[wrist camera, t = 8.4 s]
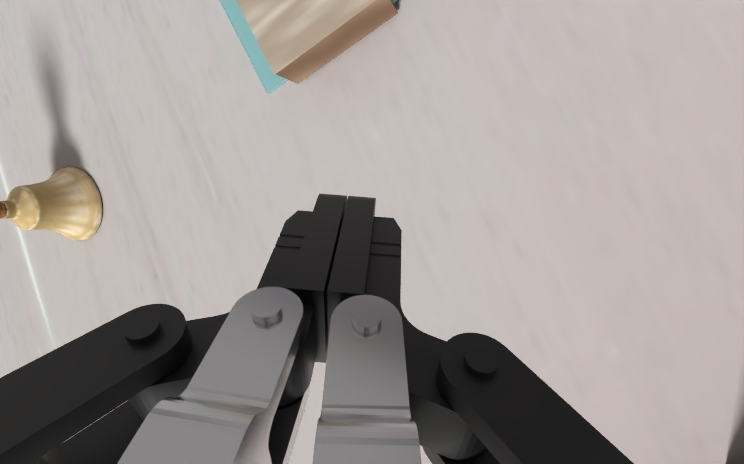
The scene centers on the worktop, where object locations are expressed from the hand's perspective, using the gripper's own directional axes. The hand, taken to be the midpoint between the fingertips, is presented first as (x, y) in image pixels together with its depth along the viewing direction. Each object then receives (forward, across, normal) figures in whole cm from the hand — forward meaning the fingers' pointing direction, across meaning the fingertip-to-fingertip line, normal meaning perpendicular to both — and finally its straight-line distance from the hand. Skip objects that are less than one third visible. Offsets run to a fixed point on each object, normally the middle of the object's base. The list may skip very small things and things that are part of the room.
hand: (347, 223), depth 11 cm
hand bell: (+26, +34, +20) cm, 47 cm away
